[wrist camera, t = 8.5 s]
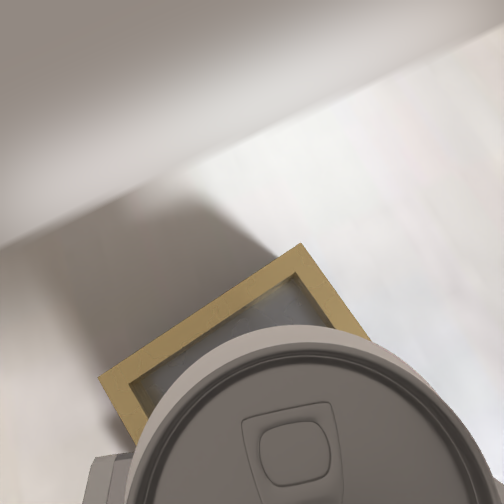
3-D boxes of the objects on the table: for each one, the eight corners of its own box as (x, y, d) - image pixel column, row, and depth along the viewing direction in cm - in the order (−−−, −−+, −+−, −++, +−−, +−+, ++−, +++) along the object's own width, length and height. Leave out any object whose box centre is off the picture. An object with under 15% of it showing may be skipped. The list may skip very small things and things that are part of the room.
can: (210, 530, 17) (120, 884, 6) (182, 360, 19) (66, 359, 7) (374, 494, 18) (614, 759, 6) (334, 328, 19) (463, 278, 7)
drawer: (292, 269, 28) (300, 242, 21) (402, 426, 26) (451, 453, 19) (110, 390, 27) (58, 403, 20) (211, 566, 25) (190, 648, 18)
